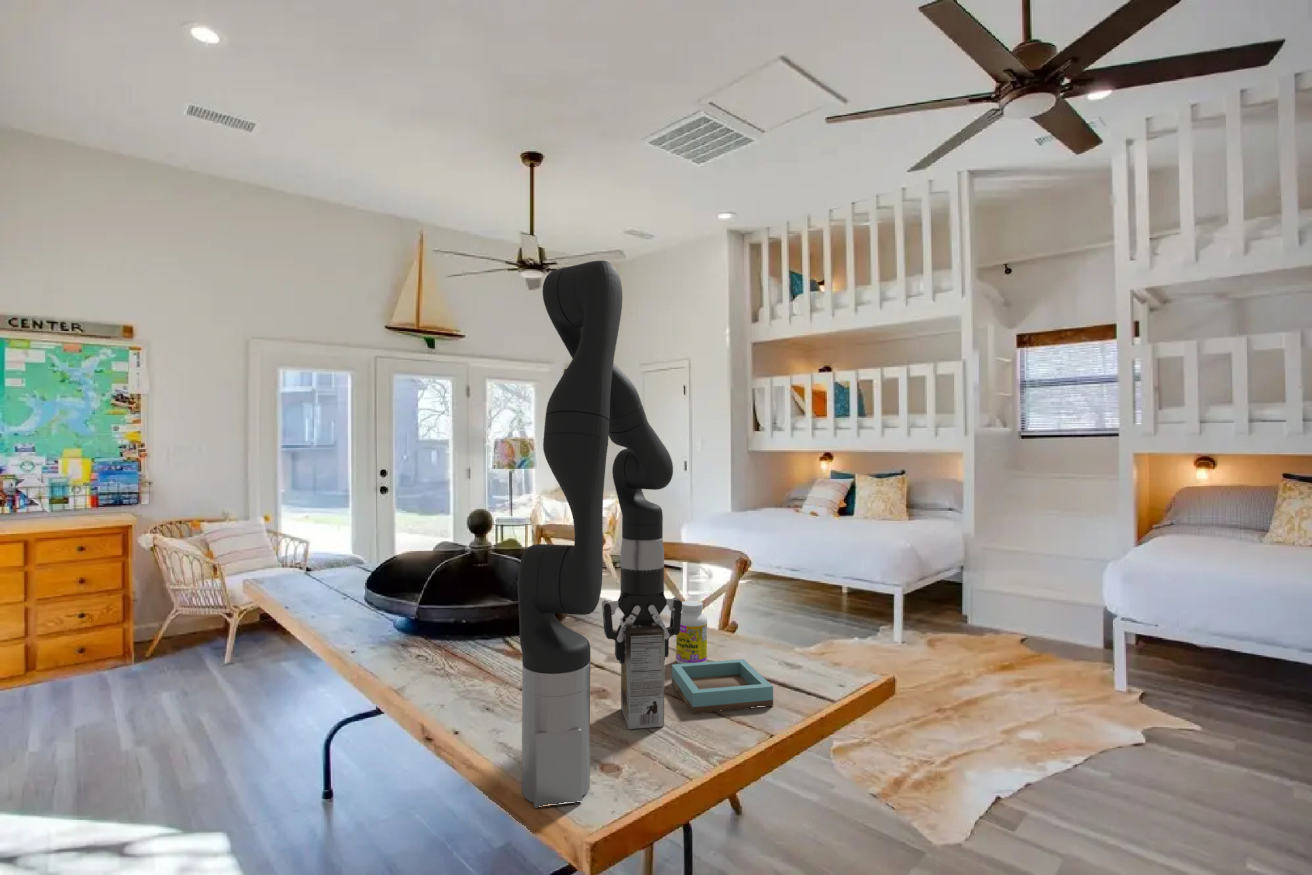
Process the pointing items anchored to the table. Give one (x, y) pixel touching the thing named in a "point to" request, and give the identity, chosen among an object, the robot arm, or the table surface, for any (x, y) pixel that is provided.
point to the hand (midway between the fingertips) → (641, 660)
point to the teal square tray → (721, 686)
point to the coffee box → (643, 676)
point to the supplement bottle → (692, 634)
